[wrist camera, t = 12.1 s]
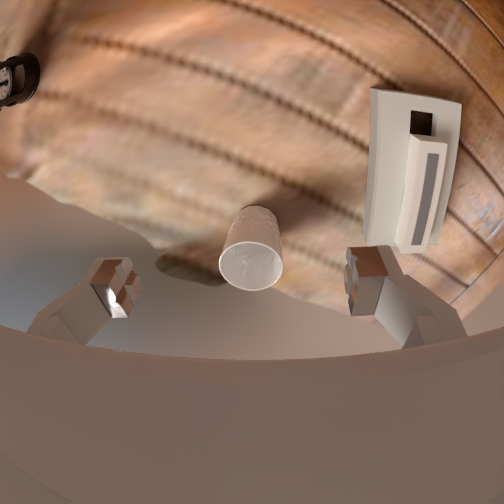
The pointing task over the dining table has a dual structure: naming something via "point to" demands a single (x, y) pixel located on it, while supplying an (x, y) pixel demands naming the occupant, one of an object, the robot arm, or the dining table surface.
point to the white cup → (252, 250)
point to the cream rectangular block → (420, 192)
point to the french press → (3, 79)
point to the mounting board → (403, 159)
